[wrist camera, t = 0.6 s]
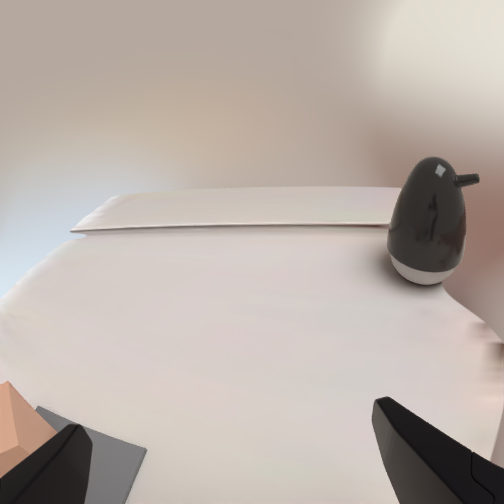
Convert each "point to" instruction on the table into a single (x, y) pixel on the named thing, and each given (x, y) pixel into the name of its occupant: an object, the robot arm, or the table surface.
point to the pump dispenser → (429, 222)
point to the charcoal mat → (105, 463)
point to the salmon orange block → (19, 428)
